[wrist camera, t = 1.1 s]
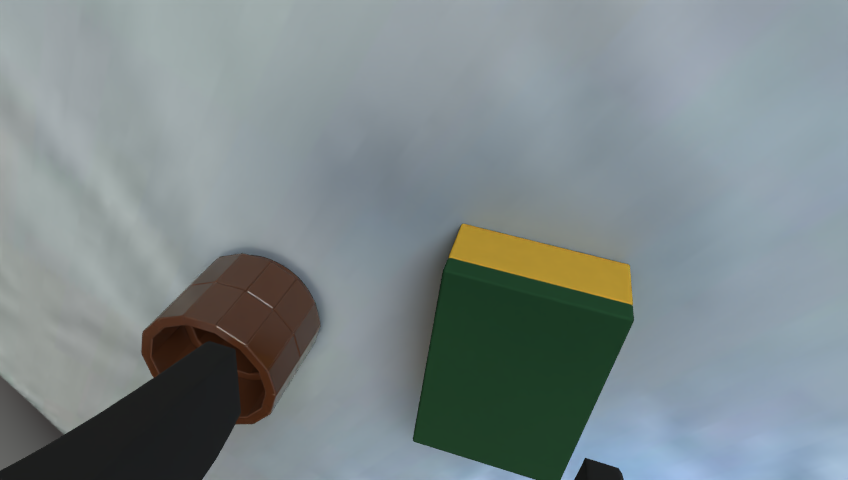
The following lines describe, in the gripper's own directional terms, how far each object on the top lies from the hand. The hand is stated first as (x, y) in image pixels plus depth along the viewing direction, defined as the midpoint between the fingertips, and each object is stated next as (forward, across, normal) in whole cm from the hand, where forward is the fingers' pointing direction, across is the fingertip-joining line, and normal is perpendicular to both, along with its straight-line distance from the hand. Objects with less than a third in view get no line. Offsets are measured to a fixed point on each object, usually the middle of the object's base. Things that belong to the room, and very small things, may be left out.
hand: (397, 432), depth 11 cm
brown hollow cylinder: (+10, +8, +8) cm, 15 cm away
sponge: (+10, -2, +6) cm, 12 cm away
